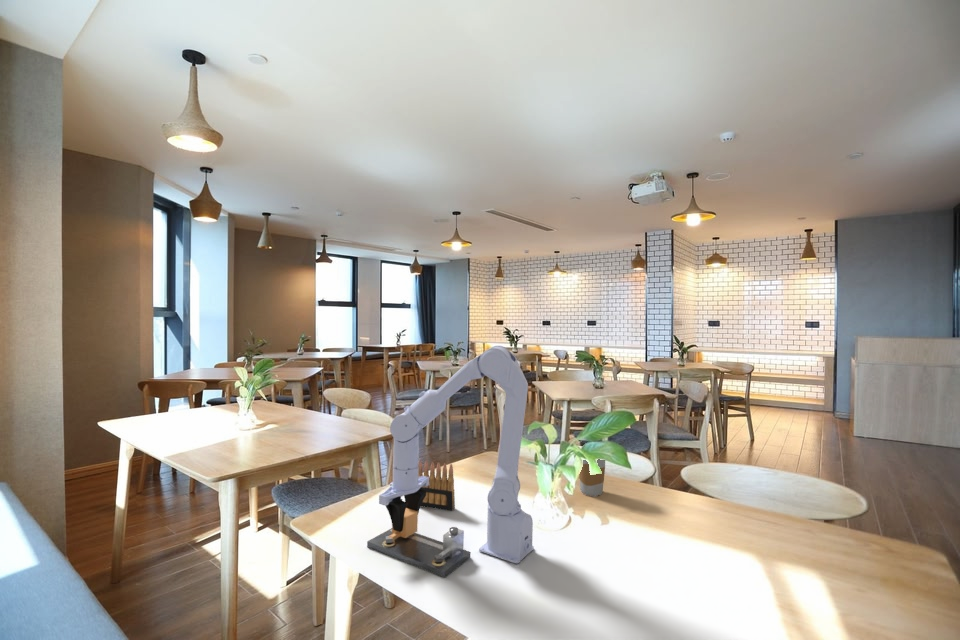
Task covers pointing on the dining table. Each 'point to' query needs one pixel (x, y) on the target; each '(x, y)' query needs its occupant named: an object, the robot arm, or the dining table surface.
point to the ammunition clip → (438, 487)
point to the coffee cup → (591, 478)
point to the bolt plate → (425, 550)
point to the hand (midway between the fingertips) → (404, 526)
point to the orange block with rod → (405, 526)
